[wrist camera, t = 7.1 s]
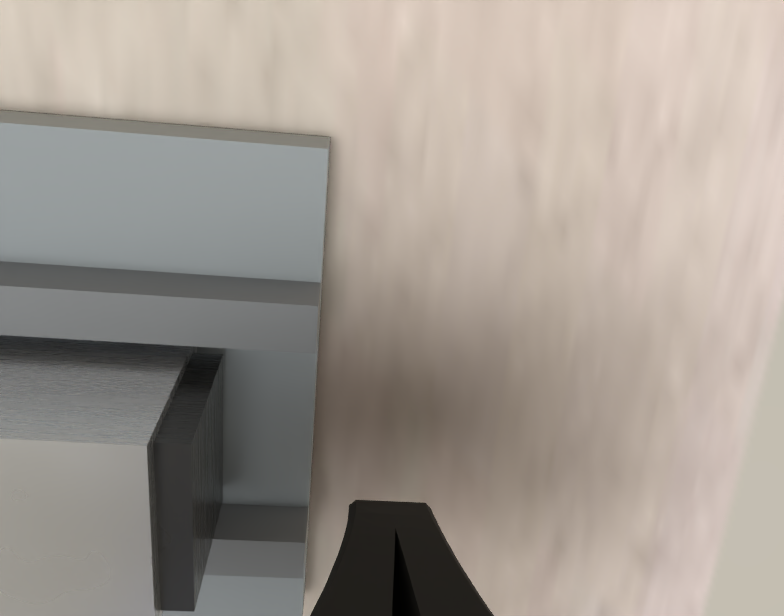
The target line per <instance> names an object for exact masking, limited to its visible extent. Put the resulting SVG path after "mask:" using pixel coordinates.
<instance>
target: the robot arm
mask: <svg viewBox="0 0 784 616" xmlns="http://www.w3.org/2000/svg"><path fill="white" fill-rule="evenodd" d="M310 616H494V615H493V614H492V612H491V611H490V610H489V608H488V607H487V605H486V604H485V602H484V601H483V599H482V598H481V596H480V595H479V593H478V592H477V590H476V589H475V587H474V586H473V584H472V582H471V581H470V579H469V578H468V576H467V575H466V573H465V571H464V570H463V568H462V567H461V565H460V563H459V562H458V560H457V558H456V557H455V555H454V553H453V551H452V549H451V548H450V546H449V544H448V542H447V540H446V539H445V537H444V535H443V533H442V531H441V529H440V527H439V525H438V523H437V521H436V519H435V517H434V515H433V512H432V510H431V508H430V507H429V506H428V505H427V504H426V503H414V502H391V501H368V500H356V501H354V502H353V503H352V504H350V505H349V515H348V522H347V527H346V531H345V535H344V538H343V541H342V544H341V547H340V550H339V553H338V556H337V558H336V561H335V563H334V566H333V568H332V571H331V573H330V576H329V578H328V581H327V583H326V585H325V587H324V589H323V591H322V593H321V595H320V597H319V599H318V601H317V603H316V605H315V607H314V609H313V611H312V613H311V615H310Z"/></svg>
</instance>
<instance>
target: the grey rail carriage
mask: <svg viewBox="0 0 784 616" xmlns="http://www.w3.org/2000/svg"><path fill="white" fill-rule="evenodd" d="M222 502H223V354H206V353H197V347H194V346H177V345H160V344H143V343H126V342H110V341H93V340H76V339H59V338H42V337H25V336H9V335H0V616H162V614H163V611H191V612H194V611H195V607H196V603H197V599H198V596H199V592H200V588H201V584H202V580H203V576H204V572H205V568H206V564H207V560H208V556H209V552H210V549H211V545H212V541H213V537H214V533H215V529H216V525H217V521H218V517H219V513H220V509H221V506H222Z"/></svg>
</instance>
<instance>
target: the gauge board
mask: <svg viewBox="0 0 784 616" xmlns="http://www.w3.org/2000/svg"><path fill="white" fill-rule="evenodd" d="M329 154H330V137H325V136H313V135H300V134H288V133H276V132H264V131H252V130H239V129H227V128H215V127H203V126H191V125H178V124H166V123H154V122H142V121H129V120H117V119H105V118H93V117H81V116H68V115H56V114H44V113H32V112H20V111H7V110H0V335H9V336H25V337H42V338H59V339H76V340H93V341H110V342H126V343H143V344H160V345H177V346H194V347H197V353H206V354H223V502H222V506H221V509H220V513H219V517H218V521H217V525H216V529H215V533H214V537H213V541H212V545H211V549H210V552H209V556H208V560H207V564H206V568H205V572H204V576H203V580H202V584H201V588H200V592H199V596H198V599H197V603H196V607H195V611H194V612H191V611H163V614H162V616H303V604H304V592H305V575H306V557H307V540H308V522H309V505H310V487H311V470H312V452H313V435H314V417H315V400H316V382H317V365H318V347H319V330H320V312H321V294H322V277H323V259H324V242H325V224H326V207H327V189H328V172H329Z"/></svg>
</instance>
